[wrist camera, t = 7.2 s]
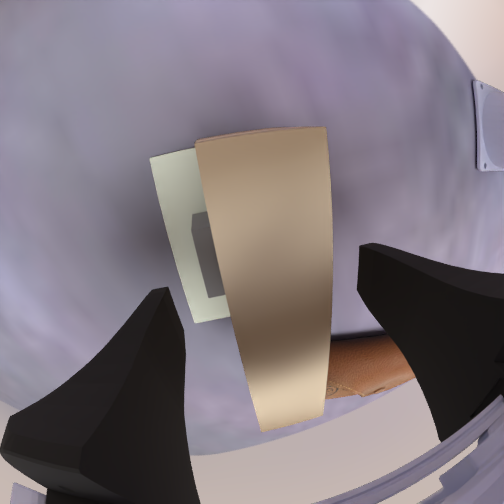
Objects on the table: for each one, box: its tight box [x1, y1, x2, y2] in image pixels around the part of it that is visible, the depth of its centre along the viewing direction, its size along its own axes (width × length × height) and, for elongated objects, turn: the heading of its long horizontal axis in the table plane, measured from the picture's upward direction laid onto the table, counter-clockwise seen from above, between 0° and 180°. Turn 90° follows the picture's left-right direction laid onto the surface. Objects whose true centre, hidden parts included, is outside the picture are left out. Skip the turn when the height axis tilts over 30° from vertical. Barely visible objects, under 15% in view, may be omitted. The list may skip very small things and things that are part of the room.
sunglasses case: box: [325, 334, 415, 399], centre depth 22 cm, size 18×7×7 cm, turn 83°
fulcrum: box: [150, 147, 230, 323], centre depth 14 cm, size 8×10×3 cm
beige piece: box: [195, 127, 333, 432], centre depth 10 cm, size 12×3×5 cm, turn 8°
